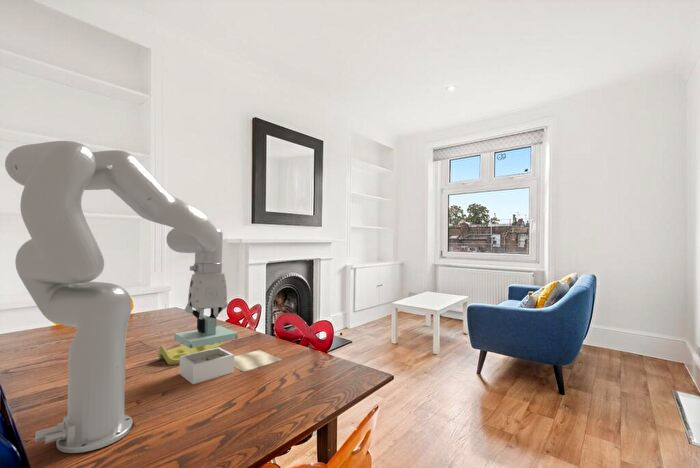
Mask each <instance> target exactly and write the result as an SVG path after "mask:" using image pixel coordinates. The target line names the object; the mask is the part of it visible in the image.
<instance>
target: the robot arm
mask: <svg viewBox="0 0 700 468" xmlns="http://www.w3.org/2000/svg"><path fill="white" fill-rule="evenodd" d="M4 167H5V170H6V172H7V175H8V176H9V177H10V178H11V179H12V180H13V181H14V182H16V183H17V184H19V185H21V186H23V187H24V188H23V190H22V193H21V196H20V208H19V209H20V214H21V218H22V220H23V222H24V225H25V228H26V229H27V231H28V234H29V236H30V239H29V240H26V241H25V242H24V243H22V245H21V246H20V247H19V248H18V250H17V252H16V255H15V259H14V260H15V261H14V263H15V269H16V272H17V274H18V276H19V278H20V280H21V282H22V283H23V285H24V287H25V288H26V290H27V292H28V294H29V295H30V297H31V298H32V300H33V301H34V303H35V305H36V306H37V308H38V310H39V311H40V312H41V314H42V315H43V316H44V318H46V319H47V320H48V321H50V322H51V323H54V324H56V325H61V326H65V327H74V328H76V331H75V333H74V336H73V338H72V341H71V343H70V346H69V348H68V358H67V359H68V360H67V365H68V366H67V367H68V369H67V370H68V375H67V379H68V380H67V414H66V416H63V421H62V422H59V423H57V424H56V425H55V426H51V427H49V428H48V427H47V428H44V429H43V428H42V429H40V430H36V431H35V443H39V442H42V441H44V443H45V445H47V444H50V443H54V442H55V441H56V448H57V450H58V451H60V452H62V453H66V454H78V453H80V454H82V453H86V452H91V451H94V450H99V449H102V448H104V447H106V446H107V447H108V446H109V445H112V444H114V443H116V442H117V441H119V440H121V439H123V438H124V437H125V436H126V435H127V434H128V433H130V431H131V430H132V429H133V418H132V417H131V416H129V415H128V414H125V397H126V396H125V394H126V393H125V390H126V389H125V388H126V387H125V386H126V384H125V383H126V341H127V340H126V339H127V332H128V331H127V330H128V326H129V320H130V317H131V313H132V306H133V305H132V304H133V302H132V298H131V295H130V294H129V292H128V290H126V289H125V288H123V287H122V286H121V285H118V284H115V283H110V282H102V281H101V282H99V281H94V280H96V279H97V278H98V277H99V276H100V275H101V274H102V273H103V272H104V268H105V260H104V256H103V253H102V251H101V249H100V247H99V245H98V242H97V241H96V239H95V235H93V233H92V230H91V228H90V226H89V224H88V222H87V220H86V217H85V215H84V212H83V211H84V210H83V209H82V208H83V207H82V199H83V195H84V192H85V191H96V190H97V191H98V190H100V191H101V190H109V191H111V192H112V193H113V194H114V195H116V196H117V197H118V198H119V199H121V200H122V201H123V202H124V203H125V204H126V206H128V207H130V209H132V210H133V211H134V212H135V213H136V214H137V215H138V216H139V217H141V218H142V219H144V220H147V221H149V222H152V223H156V224H159V225H163V226H167V227H171V228H172V229H170V231H168V233H167V235H166V237H165V238H166V245H167V246H168V248H169V249H171V250H173V251H174V252H176V253H180V254H185V253H187V254H194V263H193V265H190V266H189V271H193V274H191V278H190V282H189V288H188V296H187V297H188V299H187V304H186V306H185V308H184V312H185V313H189V314H192V315H193V316H194V317H195V318H196V319H197V320H196V322H197V323H196V330H198V331H199V332H201V333H204V332H205V319H204V317H203V316H205V315H204V314H205V309H209V311H210V313H209V314H210V315H208V316H209V317H211V318H214V319H216V320H217V318H218V316H219V314H220V313H221V312H223V310H225V309H226V308H228V307H229V304H228V291H227V290H228V289H227V288H228V287H227V280H226V276H225V275H226V274H225V273H222V271H223V269H222V268H223V242H224V241H223V240H224V239H223V237H224V236H223V230H221V229H220V228H216V226H215V225H214V224H213V223H212V221H211V220H210V219H209V218H208V217H207V215H205V214H204V213H203V212H202V211H200V210H198V208H195V207H193V206H192V205H190V204H188V203H186V202H184V200H181V199H179V198H178V197H175V196H173V195H172V194H171V193H169V192H168V191H167V190H166V188H164V187H163V185H161V183H160V182H159V181H158V180H157V179H156V178H155V177H154V176H153V175H152V174H151V173H150V172H149V171H148V169H146V168H145V166H144V165H143V164H142V163H141V161H139V159H137V158H136V157H135V156H134V155H133V154H131V153H130V152H129V151H128V152H127V151H125V150H119V149H116V150H115V149H111V150H101V151H92V150H91V149H90V148H89V147H88V146H86V145H85V144H83V143H80V142H77V141H73V140H54V141H45V142H41V143H38V142H37V143H31V144H25V145H21V146H18V147H15V148H14V149H12V150H11V151H10V152H9V153H8V154H7V155H6V157H5V161H4Z"/></svg>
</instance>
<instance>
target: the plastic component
mask: <svg viewBox="0 0 700 468" xmlns="http://www.w3.org/2000/svg"><path fill="white" fill-rule="evenodd" d="M224 343H225V341H224V342H219V343H215V344H210V345H205V346H200V347H195V348H188V347H187V346H185V345H182V346H178V347H175V348H172V349H168V350H167V349H166V347H165V346H164V344H162V345H160V346H159V351H158V354H157V355H158V356H157V357H158V358H159V359H160V360H164V361H165V362H166V363H167V365H172V366H173V365H180V356H183V355H188V354H192V353H196V352H201V351H205V350H209V349H213V348H218V347H220V348H221V346H222V345H223V344H224Z"/></svg>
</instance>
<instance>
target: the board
mask: <svg viewBox="0 0 700 468" xmlns="http://www.w3.org/2000/svg"><path fill="white" fill-rule="evenodd" d="M282 361H283V359H281V358H279V357H277V356H275V355H272V354H270V353H268V352H265V351H263V350H261V349H258V350H254V351H249V352H246V353H242V354H238V355H234V369H237V370H238V371H240V372H241V373H246V372H248V371H253V370H256V369H259V368H262V367H266V366H269V365H273V364H275V363H276V364H277V363H279V362H282Z"/></svg>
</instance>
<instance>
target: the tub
mask: <svg viewBox="0 0 700 468" xmlns="http://www.w3.org/2000/svg"><path fill="white" fill-rule="evenodd" d="M218 354H219V355H221V356H223V357H220V358H216V359H212V360H208V361H204V362H200V363H196V364H195V363H193V362H192V361H194V360H198V359H202V358H203V359H205V360H206V357H210V356H214V355H218ZM234 356H235V354H233V353H231V352H230V351H228V350H226V349H224V348H222V347H221V346H220V347H218V348H213V349H209V350H205V351H201V352H196V353H192V354H188V355H183V356H180V364H179V375H180V376H182V377H183V378H184V379H185V380H186V381H188V382H189V383H190V384H192V385H196V384H199V383H202V382H206V381H209V380H213V379H216V378H219V377H222V376H226V375H229V374H232V373H235V367H234Z"/></svg>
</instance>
